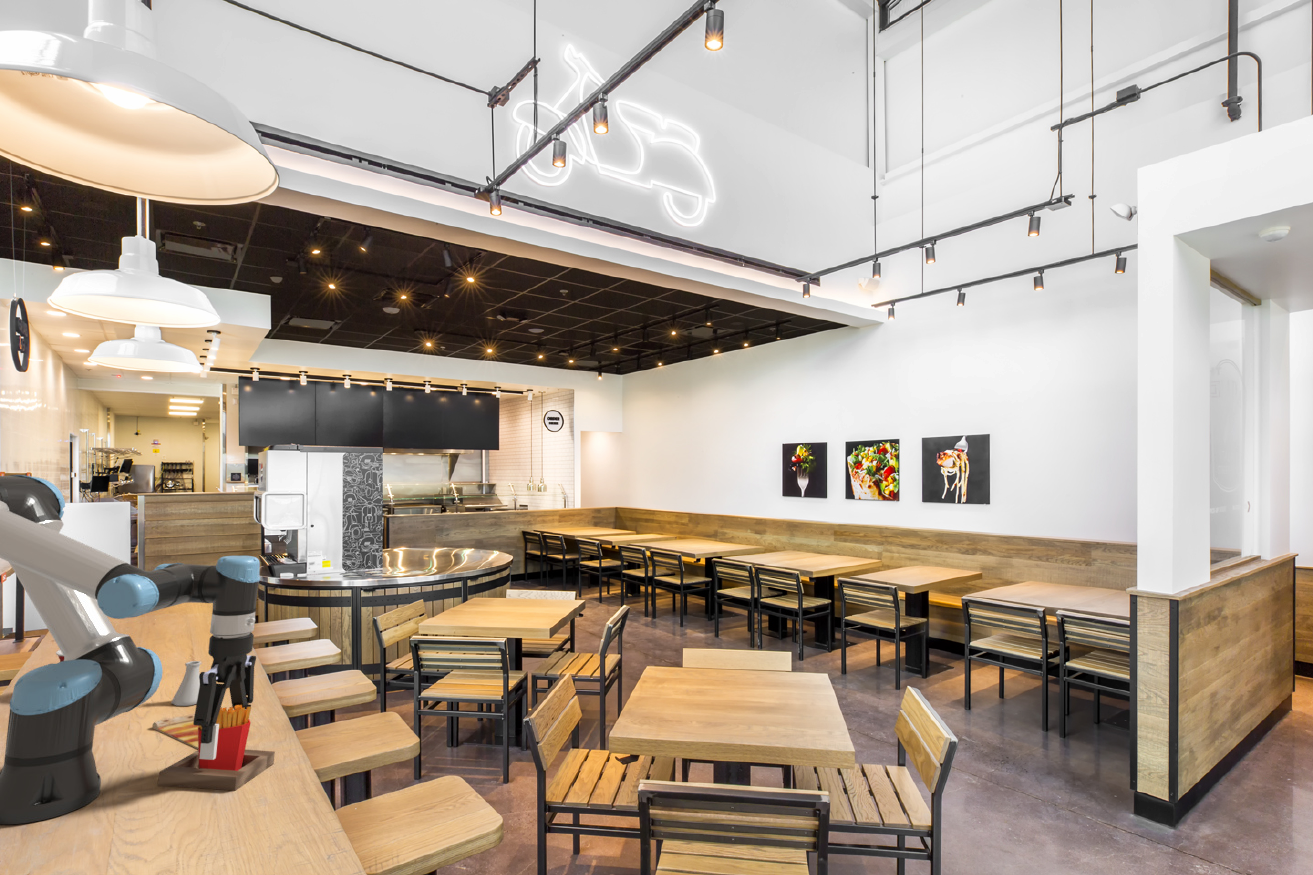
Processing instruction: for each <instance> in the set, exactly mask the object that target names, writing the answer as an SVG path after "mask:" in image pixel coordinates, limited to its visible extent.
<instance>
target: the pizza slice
mask: <svg viewBox="0 0 1313 875" xmlns="http://www.w3.org/2000/svg"><path fill="white" fill-rule="evenodd" d="M194 716H195V713H192V714H188V715H182V716H175V717H172V718H167V719H160V720H157V721H154V722H153V723H152V727H151V728H152V729H154V730H156V731H158V732H160V733H162V734H164V735H165V736H166V735H167V736H169V737H171V738H173V739H175V740H176V741H179V742H180V743H183V744H186V745H188V746H190V747H193V748H194V749H196V750H198V727H199V726H198V725H194V724H193V722H194Z"/></svg>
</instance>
